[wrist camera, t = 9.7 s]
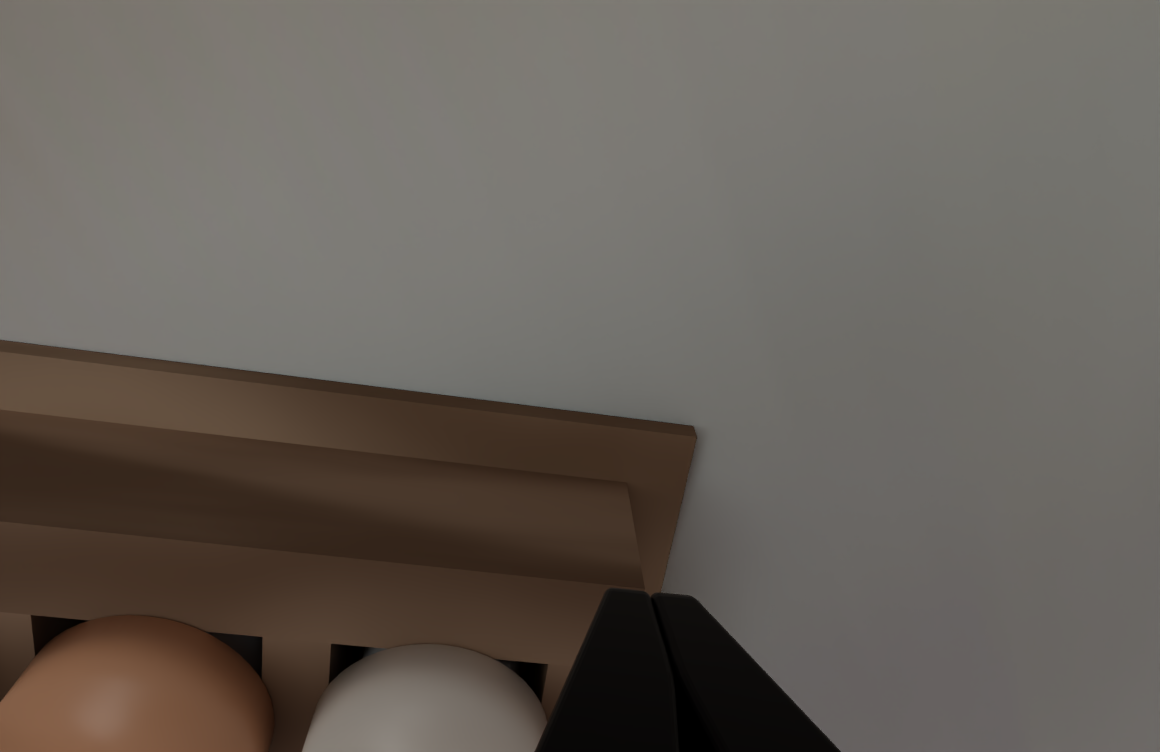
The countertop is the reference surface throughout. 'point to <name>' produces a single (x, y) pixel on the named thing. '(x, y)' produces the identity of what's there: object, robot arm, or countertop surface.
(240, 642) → the knob mid
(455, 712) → the knob
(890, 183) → the countertop surface
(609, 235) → the countertop surface
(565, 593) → the mount
